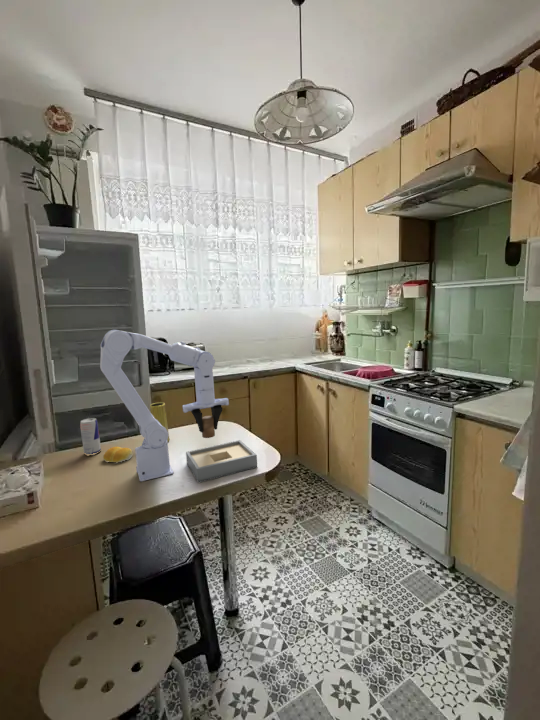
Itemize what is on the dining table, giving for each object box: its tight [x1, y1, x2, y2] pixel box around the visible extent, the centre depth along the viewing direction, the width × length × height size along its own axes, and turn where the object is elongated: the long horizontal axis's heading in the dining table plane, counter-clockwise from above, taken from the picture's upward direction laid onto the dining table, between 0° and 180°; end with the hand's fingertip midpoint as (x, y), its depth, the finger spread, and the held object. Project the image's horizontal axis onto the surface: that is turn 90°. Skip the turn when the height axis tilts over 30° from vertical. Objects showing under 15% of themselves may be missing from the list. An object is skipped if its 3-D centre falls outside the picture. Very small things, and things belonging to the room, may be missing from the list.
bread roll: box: [102, 446, 134, 464], centre depth 119 cm, size 8×9×4 cm
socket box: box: [185, 439, 258, 483], centre depth 109 cm, size 18×14×4 cm
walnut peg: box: [201, 415, 216, 439], centre depth 114 cm, size 4×4×6 cm
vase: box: [149, 401, 171, 442], centre depth 132 cm, size 6×6×14 cm
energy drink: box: [79, 417, 102, 454], centre depth 124 cm, size 5×5×12 cm
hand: (208, 429), depth 114 cm, fingers closed on walnut peg, 4 cm apart
